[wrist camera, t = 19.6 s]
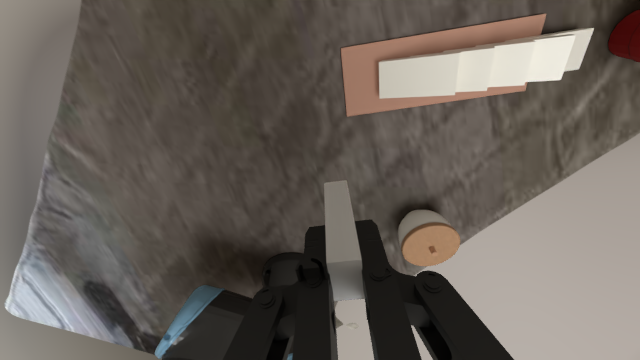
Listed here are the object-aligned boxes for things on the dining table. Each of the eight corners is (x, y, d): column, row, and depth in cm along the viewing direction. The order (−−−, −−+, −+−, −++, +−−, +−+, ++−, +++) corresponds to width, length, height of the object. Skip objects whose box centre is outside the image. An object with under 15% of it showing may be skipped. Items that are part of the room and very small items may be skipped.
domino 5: (505, 80, 34) (579, 69, 34) (514, 40, 32) (594, 27, 31) (496, 78, 36) (566, 67, 35) (504, 40, 34) (580, 28, 33)
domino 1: (379, 98, 36) (454, 95, 31) (378, 62, 33) (460, 52, 29) (382, 95, 37) (455, 91, 33) (382, 60, 35) (460, 51, 30)
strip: (346, 115, 40) (347, 116, 39) (340, 48, 35) (340, 48, 34) (522, 89, 38) (525, 90, 37) (542, 14, 33) (546, 13, 32)
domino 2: (407, 94, 36) (486, 90, 31) (408, 57, 33) (495, 47, 29) (409, 91, 37) (485, 87, 33) (410, 56, 35) (493, 46, 30)
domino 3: (439, 89, 35) (524, 85, 31) (442, 52, 33) (536, 41, 28) (439, 86, 37) (521, 82, 32) (443, 50, 34) (532, 40, 30)
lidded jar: (452, 207, 50) (478, 240, 41) (425, 243, 55) (444, 278, 47) (406, 194, 48) (423, 226, 40) (383, 232, 53) (394, 267, 45)
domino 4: (469, 85, 35) (560, 79, 30) (476, 46, 32) (576, 35, 28) (469, 82, 36) (556, 77, 32) (475, 45, 34) (570, 34, 29)
